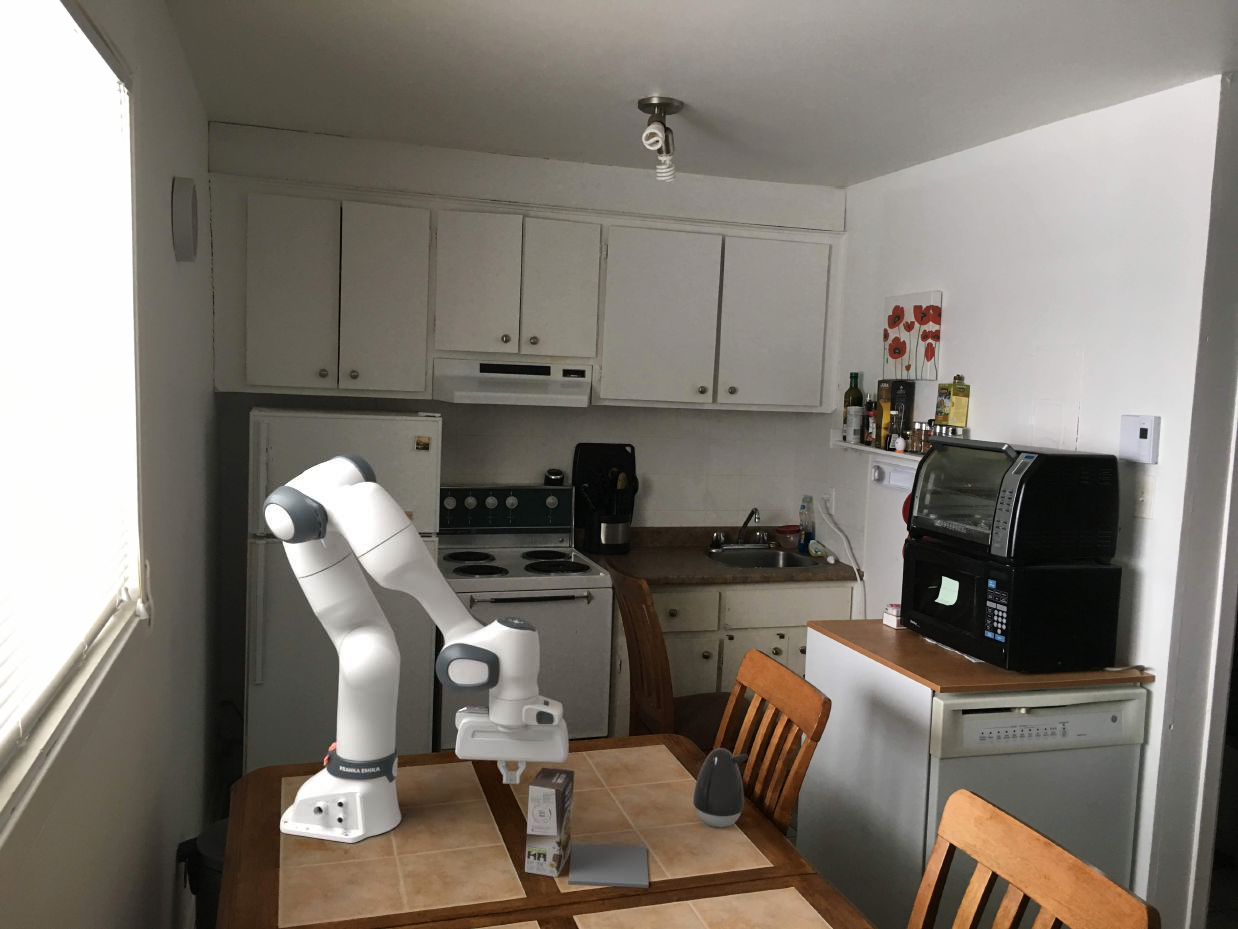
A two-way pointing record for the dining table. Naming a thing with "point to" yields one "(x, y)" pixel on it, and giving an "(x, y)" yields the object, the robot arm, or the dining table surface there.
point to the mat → (608, 865)
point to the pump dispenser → (719, 789)
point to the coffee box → (549, 821)
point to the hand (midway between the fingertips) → (511, 782)
